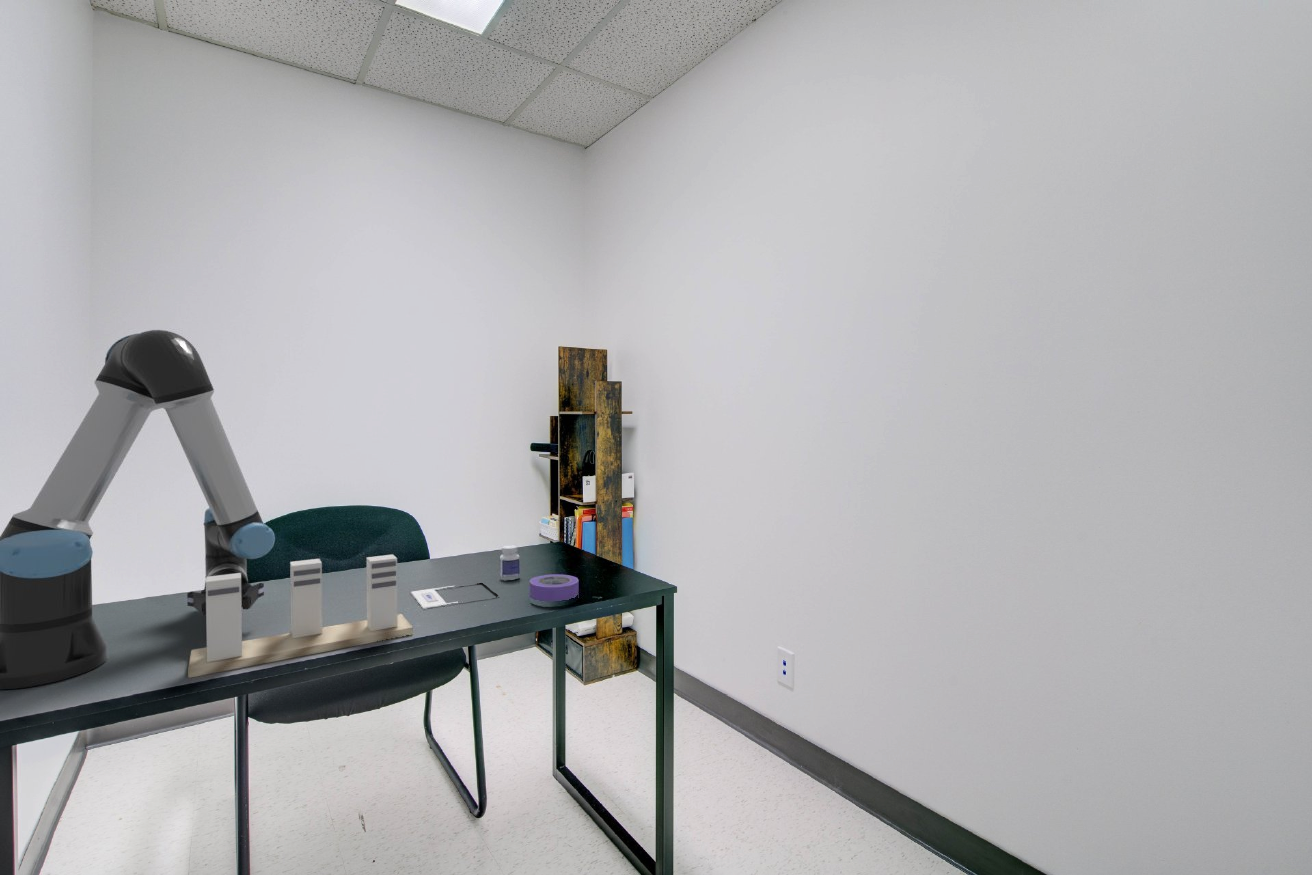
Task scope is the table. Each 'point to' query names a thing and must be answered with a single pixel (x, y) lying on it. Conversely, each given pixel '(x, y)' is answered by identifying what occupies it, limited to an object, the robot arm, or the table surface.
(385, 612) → the tile
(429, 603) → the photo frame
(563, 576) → the tape roll
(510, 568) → the pill bottle
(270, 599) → the table surface
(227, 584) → the tile
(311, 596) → the white tall block
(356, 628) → the key base
